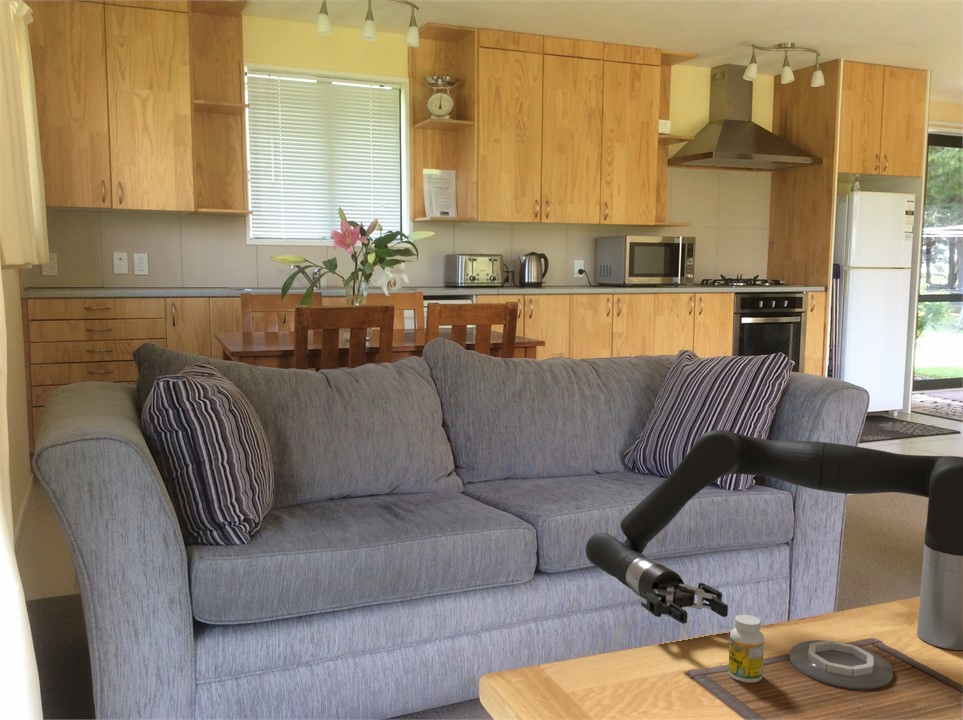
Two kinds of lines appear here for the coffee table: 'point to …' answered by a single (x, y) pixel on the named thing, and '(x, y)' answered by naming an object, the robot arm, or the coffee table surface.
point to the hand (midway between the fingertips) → (706, 615)
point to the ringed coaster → (841, 664)
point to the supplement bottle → (746, 650)
